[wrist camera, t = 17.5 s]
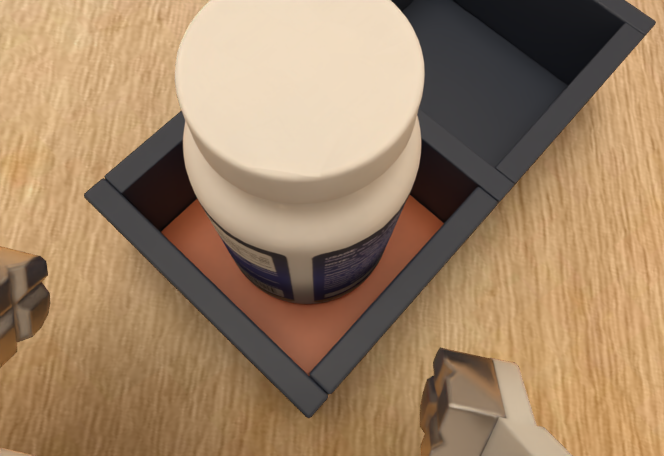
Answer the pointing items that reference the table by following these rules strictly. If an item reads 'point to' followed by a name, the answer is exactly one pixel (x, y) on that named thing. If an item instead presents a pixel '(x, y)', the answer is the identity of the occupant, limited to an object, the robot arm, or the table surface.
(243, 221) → the pill bottle
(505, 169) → the tray
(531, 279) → the table surface
